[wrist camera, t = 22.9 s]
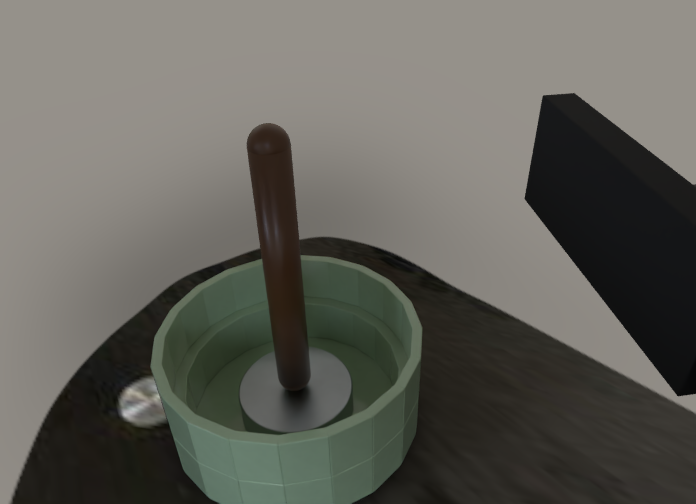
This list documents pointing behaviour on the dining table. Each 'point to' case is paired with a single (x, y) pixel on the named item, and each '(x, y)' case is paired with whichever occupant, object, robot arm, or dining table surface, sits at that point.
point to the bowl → (256, 341)
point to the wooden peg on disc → (286, 310)
